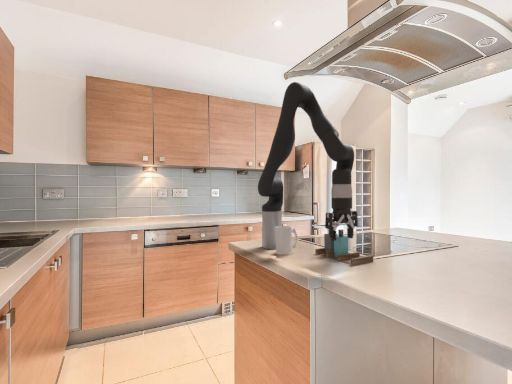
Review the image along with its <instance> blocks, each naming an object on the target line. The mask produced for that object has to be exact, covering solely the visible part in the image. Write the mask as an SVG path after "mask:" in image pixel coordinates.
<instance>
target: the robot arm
mask: <svg viewBox="0 0 512 384" xmlns="http://www.w3.org/2000/svg"><path fill="white" fill-rule="evenodd" d="M298 108H299V109H300V108H301V109H302V110H303V111H304V112H305V113H306V115H308V117H309V120H310V123H311V126H312V129H313V132H314V133H315V134H316V136H317V137H318V139H319V141H320V142H321V143H322V146H323V148H324V150H325V152H326V154H327V156H328V157H329V158H330V159H331V161H333V162H336V166H335V167H336V168H334V169H333V170H332V172H331V173H332V174H331V189H330V190H331V200H330V201H331V204H330V205H331V210H332V212H326V213H325V222H324V223H325V225H324V228H325V229H326V230H328V229H329V230H330V239H331V240H333V241H336V234H337V228H338V227H339V226H340V225H341V224H345V225H346V227H347V228H346V229H347V230H346V231H347V235H346V236H348V239H353V238H354V231H355V230H354V229H355V227H358V226H359V221H358V211H357V210H352V209H353V188H352V172H353V171H352V170H353V168H354V167H353V166H354V161H355V151H354V148H353V147H352V146H351V144H347V143H343V141H341V139H340V138H339V137H340V133H339V132H338V130H337V128H336V127H335V126H334V125H333V123H332V122H331V120H330V119H329V118H328V117H327V115H326V114H325V112H324V110H323V109H322V107H321V105H320V103H319V102H318V100H317V98H316V96H315V93H314V92H313V90H312V89H311V87H309V86H308V85H306V84H303V83H301V82H296V81H294V82H291V83H290V84H289V85H288V86H287V88H286V90H285V91H284V96H283V100H282V104H281V108H280V109H281V111H280V116H279V118H278V123H277V126H276V129H275V132H274V136H273V139H272V142H271V146H270V151H269V153H268V157H267V159H266V163H265V166H264V167H263V170H262V172H261V174H260V177H259V180H258V183H257V193H258V195H259V196H261V197H263V198H264V197H265V198H267V197H268V200H267V201H266V202H265V203H263V204H261V220H262V221H261V224H262V225H261V244H262V245H261V246H262V249H266V250H276V235H275V227H276V226H283V224H282V223H283V222H282V221H283V219H282V217H283V216H282V213H283V212H282V207H283V205H284V183H283V181H282V179H281V178H280V177H277V176H276V174H277V172H278V170H279V168H280V167H281V166H282V165H284V163H285V162H286V161H287V160H288V158H289V156H290V154H291V153H292V151H293V147H294V144H295V141H296V132H295V131H296V130H295V117H296V114H297V110H298Z"/></svg>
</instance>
